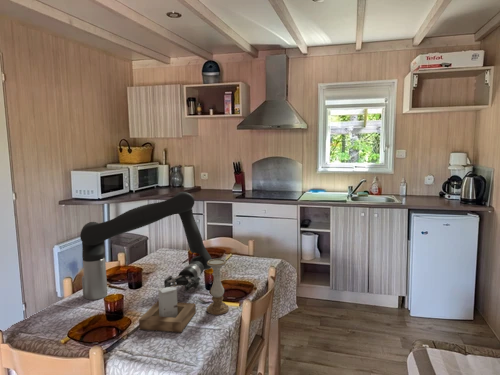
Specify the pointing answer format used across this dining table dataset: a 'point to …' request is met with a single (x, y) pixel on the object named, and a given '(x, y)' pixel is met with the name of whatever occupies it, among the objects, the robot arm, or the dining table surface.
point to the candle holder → (217, 289)
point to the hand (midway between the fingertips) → (175, 288)
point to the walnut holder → (167, 319)
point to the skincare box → (168, 302)
